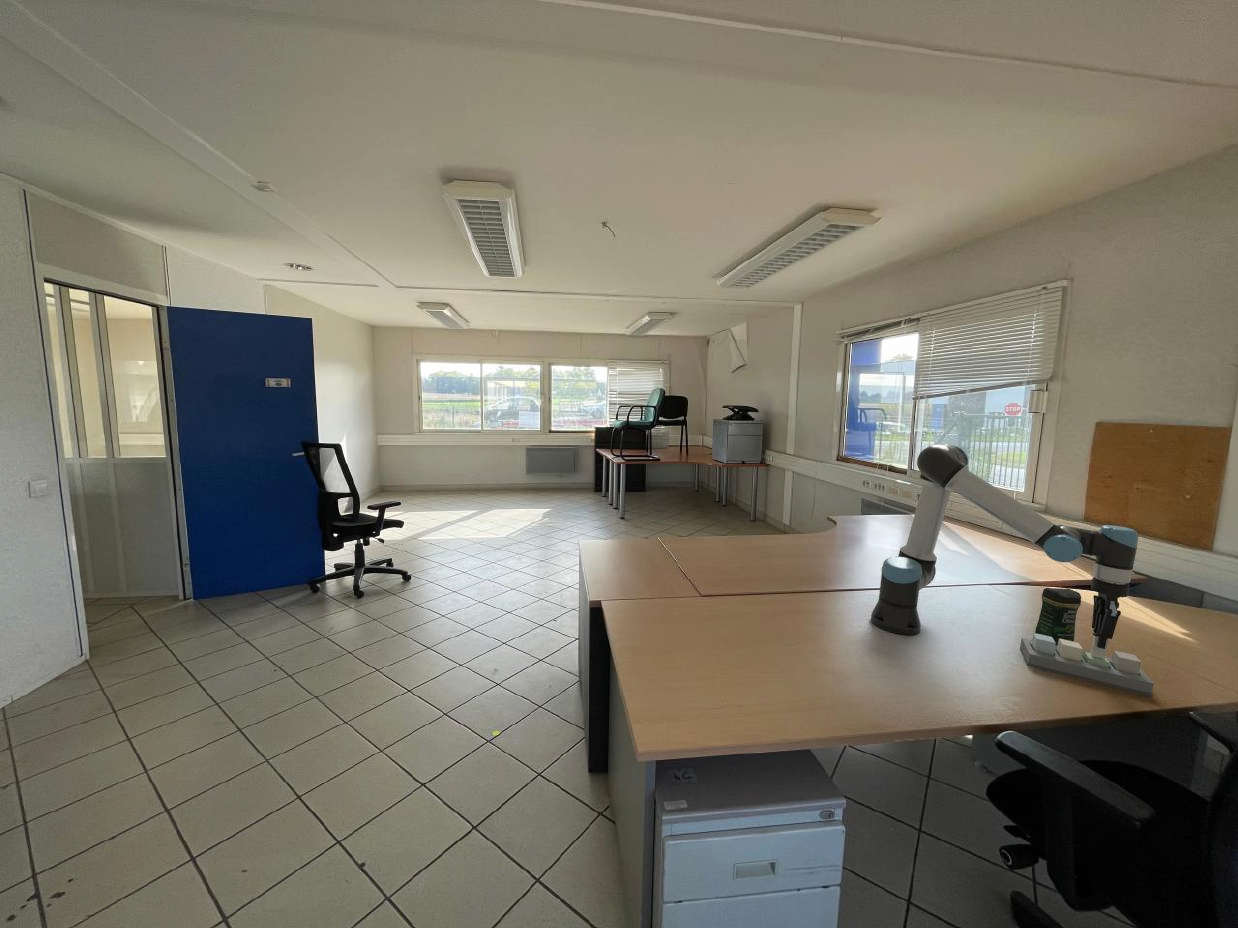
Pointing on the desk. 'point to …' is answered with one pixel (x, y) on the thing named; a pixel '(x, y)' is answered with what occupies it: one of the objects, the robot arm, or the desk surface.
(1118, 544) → the robot arm
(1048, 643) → the key blue
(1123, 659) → the key grey
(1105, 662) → the key sage
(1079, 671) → the keypad
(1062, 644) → the key cream
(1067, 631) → the coffee jar
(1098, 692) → the desk surface
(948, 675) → the desk surface
